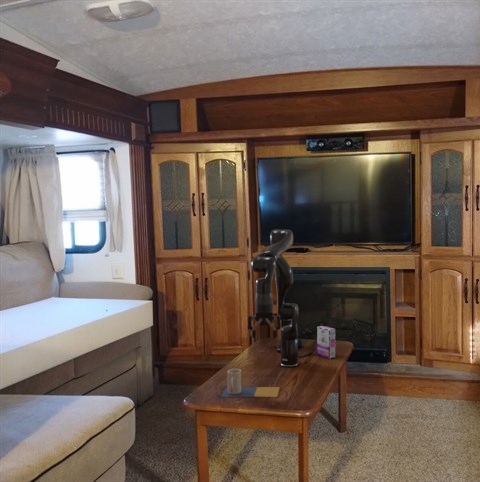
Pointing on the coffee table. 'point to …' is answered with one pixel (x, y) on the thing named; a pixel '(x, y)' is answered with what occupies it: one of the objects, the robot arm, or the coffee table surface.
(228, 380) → the mug
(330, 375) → the coffee table surface
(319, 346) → the candy bar box
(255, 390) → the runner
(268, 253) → the robot arm
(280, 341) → the miniature car
